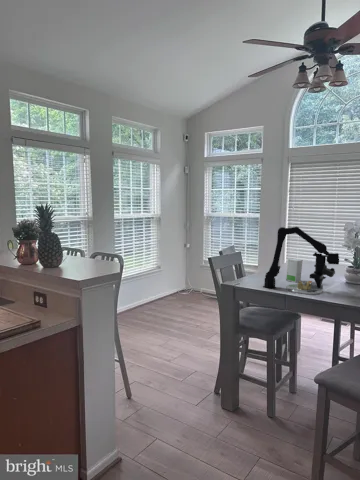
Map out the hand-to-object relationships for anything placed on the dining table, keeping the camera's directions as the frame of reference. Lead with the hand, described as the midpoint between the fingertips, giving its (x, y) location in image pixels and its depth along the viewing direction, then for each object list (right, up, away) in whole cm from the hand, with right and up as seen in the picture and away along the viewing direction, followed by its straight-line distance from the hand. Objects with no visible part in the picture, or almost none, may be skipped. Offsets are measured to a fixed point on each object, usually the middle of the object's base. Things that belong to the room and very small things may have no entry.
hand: (319, 288), depth 220 cm
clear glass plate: (-8, -2, +4) cm, 9 cm away
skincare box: (-6, +1, +30) cm, 31 cm away
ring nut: (-5, -1, +3) cm, 6 cm away
